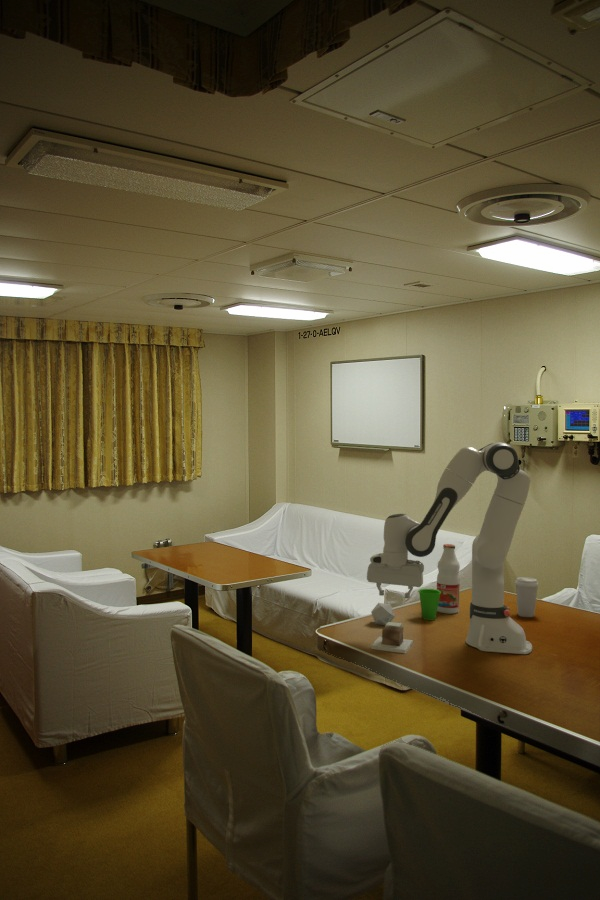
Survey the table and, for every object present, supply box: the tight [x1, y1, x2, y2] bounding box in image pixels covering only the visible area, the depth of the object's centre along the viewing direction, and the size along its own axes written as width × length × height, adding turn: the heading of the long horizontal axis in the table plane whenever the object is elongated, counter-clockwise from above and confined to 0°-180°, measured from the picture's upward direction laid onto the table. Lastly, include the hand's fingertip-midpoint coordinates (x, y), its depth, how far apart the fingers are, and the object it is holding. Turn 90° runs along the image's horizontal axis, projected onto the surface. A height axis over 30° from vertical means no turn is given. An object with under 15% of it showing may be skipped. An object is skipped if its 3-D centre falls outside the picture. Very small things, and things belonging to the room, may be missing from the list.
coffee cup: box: [514, 576, 540, 618], centre depth 280 cm, size 10×10×15 cm
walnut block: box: [381, 625, 404, 646], centre depth 234 cm, size 6×6×5 cm
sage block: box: [384, 621, 403, 627], centre depth 244 cm, size 5×5×5 cm
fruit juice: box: [436, 543, 461, 615], centre depth 283 cm, size 9×9×28 cm
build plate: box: [370, 635, 414, 654], centre depth 234 cm, size 12×12×1 cm
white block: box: [370, 602, 396, 626], centre depth 262 cm, size 8×9×10 cm
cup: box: [418, 588, 441, 621], centre depth 271 cm, size 9×9×11 cm
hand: (394, 596), depth 244 cm, fingers open, 8 cm apart
